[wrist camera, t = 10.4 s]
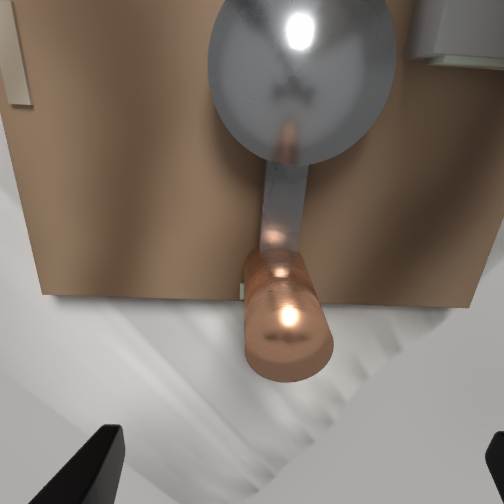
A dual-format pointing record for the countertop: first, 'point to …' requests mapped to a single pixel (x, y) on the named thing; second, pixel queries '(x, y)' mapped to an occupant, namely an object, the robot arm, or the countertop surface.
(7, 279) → the countertop surface
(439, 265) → the stand
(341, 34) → the grey ball copper handle
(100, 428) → the robot arm
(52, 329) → the countertop surface
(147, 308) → the countertop surface
